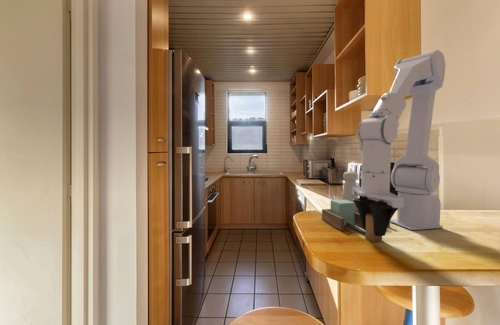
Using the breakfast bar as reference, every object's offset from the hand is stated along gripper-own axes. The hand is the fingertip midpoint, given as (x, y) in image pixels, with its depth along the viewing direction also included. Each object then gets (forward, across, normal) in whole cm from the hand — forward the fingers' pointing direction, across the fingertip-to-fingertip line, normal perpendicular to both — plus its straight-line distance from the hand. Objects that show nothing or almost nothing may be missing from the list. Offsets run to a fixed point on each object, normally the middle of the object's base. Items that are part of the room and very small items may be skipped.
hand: (373, 232), depth 59 cm
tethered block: (+2, -7, 0) cm, 7 cm away
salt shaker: (+2, -22, +8) cm, 24 cm away
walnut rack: (+2, -12, +3) cm, 12 cm away
